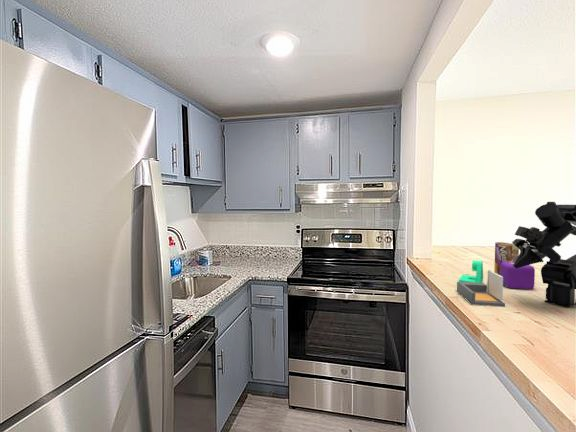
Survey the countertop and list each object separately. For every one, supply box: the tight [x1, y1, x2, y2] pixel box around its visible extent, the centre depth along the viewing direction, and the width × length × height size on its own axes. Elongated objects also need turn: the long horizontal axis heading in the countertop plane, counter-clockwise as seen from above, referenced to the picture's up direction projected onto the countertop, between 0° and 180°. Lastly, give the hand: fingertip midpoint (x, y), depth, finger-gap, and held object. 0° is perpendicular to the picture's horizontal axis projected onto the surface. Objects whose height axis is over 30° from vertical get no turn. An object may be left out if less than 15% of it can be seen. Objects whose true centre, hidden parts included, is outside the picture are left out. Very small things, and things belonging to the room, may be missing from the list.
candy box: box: [493, 241, 520, 275], centre depth 144 cm, size 9×4×15 cm, turn 13°
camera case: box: [456, 281, 506, 307], centre depth 112 cm, size 10×17×4 cm, turn 168°
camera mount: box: [458, 260, 484, 283], centre depth 130 cm, size 12×8×10 cm, turn 143°
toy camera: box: [500, 262, 536, 290], centre depth 128 cm, size 11×14×10 cm
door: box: [486, 269, 504, 302], centre depth 109 cm, size 1×10×8 cm, turn 168°
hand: (514, 267), depth 107 cm, fingers closed
